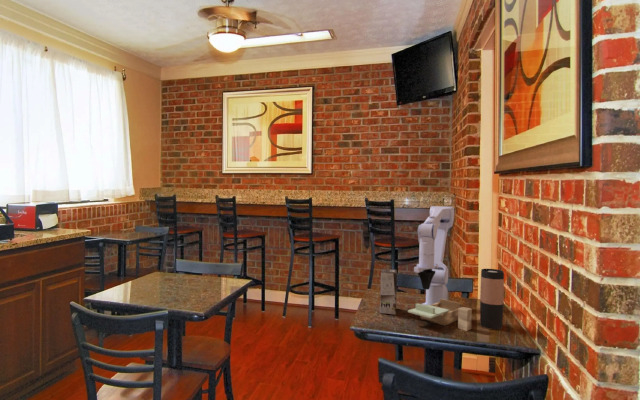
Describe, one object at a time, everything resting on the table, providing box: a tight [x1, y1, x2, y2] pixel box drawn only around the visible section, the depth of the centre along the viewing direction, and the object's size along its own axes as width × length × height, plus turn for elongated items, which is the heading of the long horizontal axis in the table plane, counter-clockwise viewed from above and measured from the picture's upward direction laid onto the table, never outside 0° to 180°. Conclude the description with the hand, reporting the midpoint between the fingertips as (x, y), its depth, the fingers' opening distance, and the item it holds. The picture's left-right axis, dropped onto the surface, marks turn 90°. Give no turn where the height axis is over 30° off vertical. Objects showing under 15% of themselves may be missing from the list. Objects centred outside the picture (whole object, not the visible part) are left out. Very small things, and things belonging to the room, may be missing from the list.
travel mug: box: [479, 268, 505, 330], centre depth 135 cm, size 8×8×20 cm
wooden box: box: [419, 299, 462, 327], centre depth 143 cm, size 14×10×6 cm
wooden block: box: [457, 306, 473, 332], centre depth 132 cm, size 3×3×7 cm
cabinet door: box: [407, 303, 449, 318], centre depth 136 cm, size 13×9×3 cm
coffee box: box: [379, 268, 398, 315], centre depth 151 cm, size 9×6×16 cm
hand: (425, 288), depth 148 cm, fingers closed
